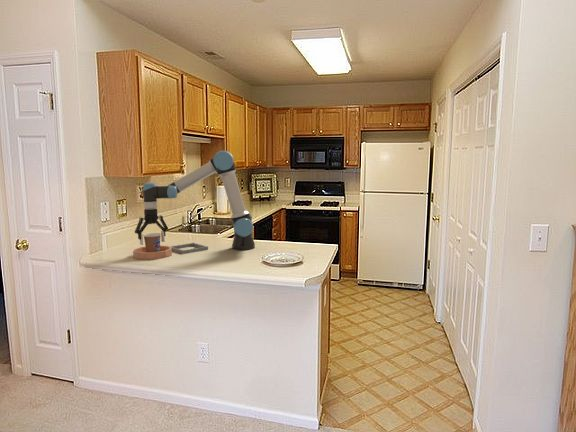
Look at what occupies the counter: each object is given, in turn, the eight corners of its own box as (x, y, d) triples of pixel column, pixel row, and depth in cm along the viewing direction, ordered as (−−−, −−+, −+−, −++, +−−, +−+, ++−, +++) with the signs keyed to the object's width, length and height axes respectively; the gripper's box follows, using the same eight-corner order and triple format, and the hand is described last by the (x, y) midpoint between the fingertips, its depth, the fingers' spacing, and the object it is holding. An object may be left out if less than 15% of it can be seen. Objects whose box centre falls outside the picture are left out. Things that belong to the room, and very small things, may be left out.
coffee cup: (156, 256, 237) (155, 236, 235) (140, 255, 239) (139, 235, 237) (165, 252, 247) (164, 233, 245) (150, 251, 249) (149, 232, 247)
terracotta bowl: (178, 255, 242) (177, 249, 242) (143, 261, 227) (142, 254, 227) (162, 250, 258) (161, 244, 258) (128, 255, 243) (127, 249, 243)
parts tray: (208, 249, 258) (208, 246, 258) (182, 254, 246) (182, 250, 246) (193, 245, 272) (193, 242, 271) (168, 249, 259) (168, 246, 259)
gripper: (167, 206, 250) (168, 239, 253) (127, 209, 233) (129, 245, 236) (172, 207, 245) (174, 241, 247) (132, 210, 228) (134, 246, 230)
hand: (152, 243), depth 242 cm, fingers open, 13 cm apart
